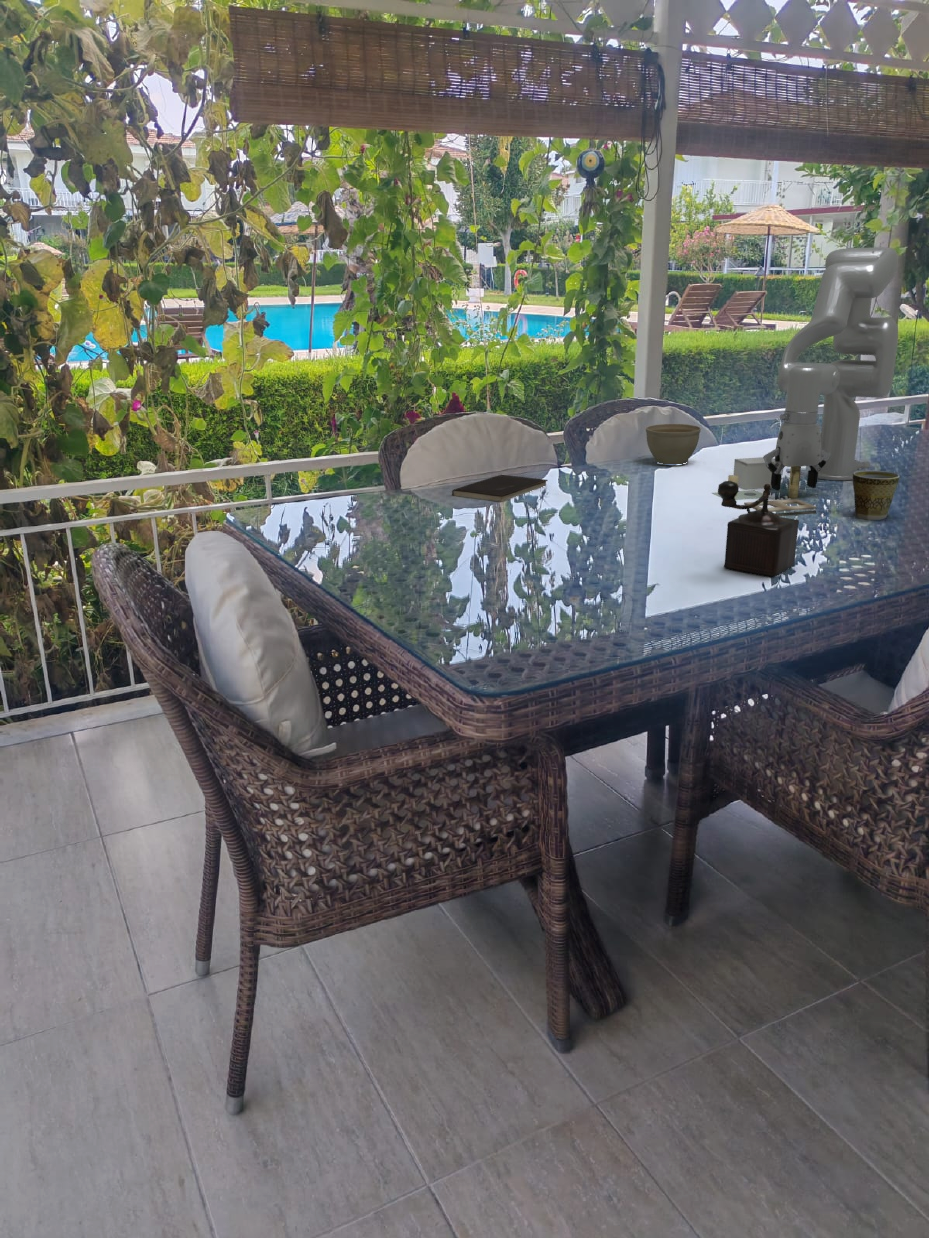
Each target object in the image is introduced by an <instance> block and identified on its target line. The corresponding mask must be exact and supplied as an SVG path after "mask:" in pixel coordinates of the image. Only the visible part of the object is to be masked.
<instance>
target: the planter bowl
mask: <svg viewBox="0 0 929 1238" xmlns="http://www.w3.org/2000/svg"><path fill="white" fill-rule="evenodd" d="M701 429H702V428H701V427H700V426H698V425H693V424H686V423H685V424H684V423H663V424H661V423H659V424H653V425H648V426H646V427H645V432H646V442H647V446H648V449H649V452H650V453H651V455H652V456H653V458H654V460H655V463H656V462H659V463H663V464H683V463H686V462H689V459H690V458H691V457H692V455H693V454H694V452H695V451H696V449H697V446H698V443H699V440H700V433H701Z"/></svg>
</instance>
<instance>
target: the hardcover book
mask: <svg viewBox="0 0 929 1238" xmlns="http://www.w3.org/2000/svg"><path fill="white" fill-rule="evenodd" d="M547 482H548V479H543V478H533V477H525V476H518V475H510V474H509V475H507V474H498V475H495V476H492V477H488V478H486V479H483V480H480V481H476V482H473V483H470V484H466V485H463V486H460V487H456V488H454V489H452V491H451V495H452V496H454V497H455V496H456V497H462V498H469V499H476V500H478V499H479V500H482V501H483V500H484V501H492V502H499V503H503V502H505V501H509V500H510V499H514V498H517V497H519V496H522V495H525V494H527V493H531V492H533V491H532V490H534V491H536V490H539V489H541V487H542V488H544V487H543V486H545V487H547ZM530 491H531V492H530ZM524 493H525V494H524ZM516 496H517V497H516Z"/></svg>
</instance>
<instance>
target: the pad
mask: <svg viewBox="0 0 929 1238" xmlns="http://www.w3.org/2000/svg"><path fill="white" fill-rule="evenodd" d="M727 479H728V480H727V481H732V482H735V483H737V484H738V476H736V475H734V474H732V475H728V477H727ZM711 494H712V495H714V496H717V497H718V498H721V496H720V495H719V494H718V491H717V492H711ZM762 495H763V492H760V491H757V490H756V489H751V490H739V492H738V493H737V494H736V496H735V500H736V501H738V500H739V501H741V500H754V499H755V500H758V499H759V498H760V497H761V496H762ZM770 498H771V499H772V496H771V495H770V496H769V498H768V499H770Z"/></svg>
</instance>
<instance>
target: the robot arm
mask: <svg viewBox="0 0 929 1238" xmlns="http://www.w3.org/2000/svg"><path fill="white" fill-rule="evenodd" d="M824 262H825V264H824V265H825V266H824V267H825V269H824V271H823V273H822V276H821V279H820V284H819V286H818V287H819V288H818V290H817V294H816V299H815V303H814V306H813V310H812V315H811V319H810V321H809V322H808V323H807V324H806V325H804V326H803V327H802V328H801V329H799V330H798V332H796V334H794V336H793V337H792V338H791V339H790V340H789V342H788V343H787V344H786V347H785V349H784V351H783V353H782V358H781V362H780V365H779V370H778V375H777V385H778V389H780V390H781V392H784V393H786V400H785V408H784V409H785V410H784V413H783V414H780V415H779V419H780V420H781V421H783V423H781V425H780V428H779V431H778V435H777V440H776V445H775V448H774V449H773V450H771V451H770V452H768V453H766V454H764V455H763V456H762V457H763V458H764V461H765V463H766V466H767V468H768V469H769V470H770V472H772V476H771V487H772V488H771V489H773V490H775V491H780V490H781V487H782V486H781V485H782V477H781V476H783V474H782V475H781V474H780V472H781V470H782V471H783V470H784V468H785V467H787V468H789V467H790V468H791V467H795V466H801V467H809V469H808V471H807V479H806V486H807V487H808V488H812V489H816V488H817V484H818V479H820V480H828V481H829V480H830V481H851V480H852V481H853V473H854V472H856V471H860V469H861V470H866V469H870V468H871V463H870V461H861V462H860V461H859V460H858V459H856V451H857V443H858V436H859V435H858V434H859V425H860V419H861V412H860V409H859V407H858V404H857V403H856V401H855V400H854V398H857V397H858V398H884V397H886V396H888V395H889V393H890V392H891V390H892V385H893V381H894V376H895V368H896V359H897V350H898V345H899V344H898V343H899V326H898V324H897V322H896V321H895V320H894V319H893V318H890V317H875V316H874V317H871V316H872V315H871V308H872V300H873V299H876V298H878V297H879V296H880V295H881V294H882V293H883V292H884V291H885V289H886V288H887V287H888V285H889V284H890V283H891V282H892V280H893V279H894V277H895V275H896V274H897V271H898V268H899V255H898V253H897V250H895V249H894V248H893V247H889V246H888V247H887V246H883V247H881V246H880V247H879V246H877V247H849V248H847V247H846V248H839V249H835V250H833V251H831V252H829V253H828V255H827V256H826V259H825V261H824ZM831 337H833V338H832V339H833V340H832V346H833V350H834V351H835V352H837V353H838V354H842V355H851V356H852V355H857V356H861V355H862V356H873V357H874V358H875V360H869V359H868V360H864V359H863V360H862V359H837V360H834V361H832V362H830V363H825V362H824V363H822V362H800V361H799V362H797V360H798V359H799V358H800V355H802V353H803V352H804V351H805V350H807V349H808V348H809V347H811V346H813V345H814V344H817V343H820V342H821V341H824V340H826V339H829V338H831ZM820 396H823V410H822V411H823V412H822V420H821V421H822V422H821V424H820V423H818V416H819V415H818V414H819V404H820V403H819V402H820ZM820 425H821V426H820ZM772 458H774V459H775V464H773V463H772ZM780 486H781V487H780Z"/></svg>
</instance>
